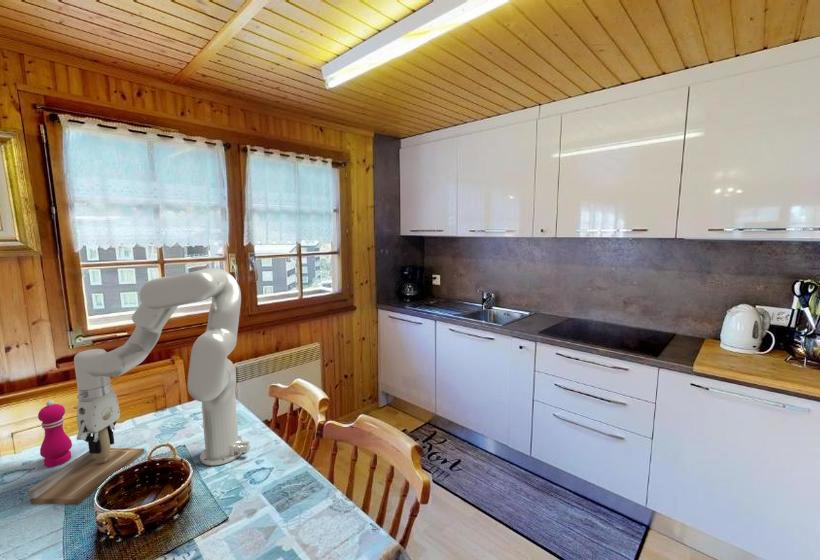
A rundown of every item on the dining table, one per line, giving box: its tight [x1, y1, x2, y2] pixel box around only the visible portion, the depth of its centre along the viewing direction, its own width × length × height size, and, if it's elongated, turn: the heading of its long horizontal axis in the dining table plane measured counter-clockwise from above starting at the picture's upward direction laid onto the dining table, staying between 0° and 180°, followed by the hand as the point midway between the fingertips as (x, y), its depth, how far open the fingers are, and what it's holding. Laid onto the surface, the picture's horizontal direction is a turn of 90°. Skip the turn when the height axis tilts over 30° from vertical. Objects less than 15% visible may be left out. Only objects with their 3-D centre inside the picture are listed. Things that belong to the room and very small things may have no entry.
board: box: [28, 447, 145, 505], centre depth 108 cm, size 13×23×4 cm, turn 178°
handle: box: [95, 413, 111, 464], centre depth 112 cm, size 5×6×15 cm
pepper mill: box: [37, 399, 73, 468], centre depth 114 cm, size 7×7×20 cm
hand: (102, 447), depth 112 cm, fingers closed on handle, 3 cm apart
